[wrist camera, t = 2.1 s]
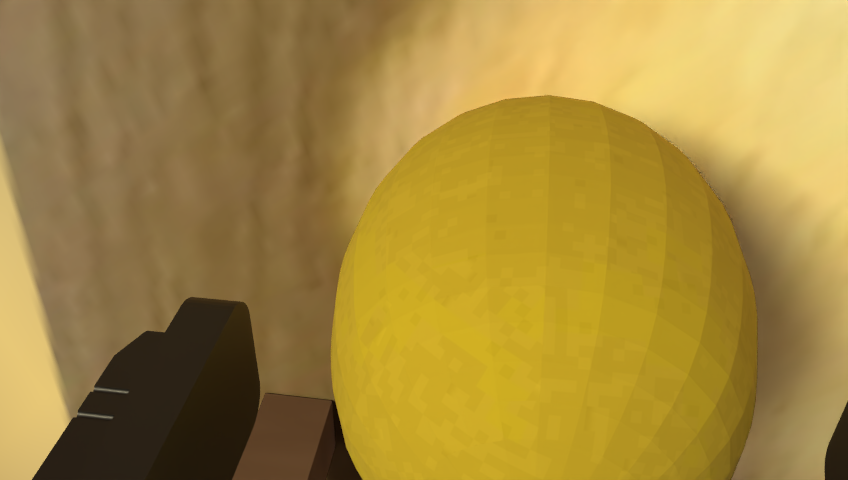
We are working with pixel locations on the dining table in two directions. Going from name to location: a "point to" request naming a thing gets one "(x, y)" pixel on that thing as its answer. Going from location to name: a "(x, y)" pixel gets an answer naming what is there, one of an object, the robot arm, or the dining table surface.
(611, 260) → the lemon
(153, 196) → the dining table surface
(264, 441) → the stool
